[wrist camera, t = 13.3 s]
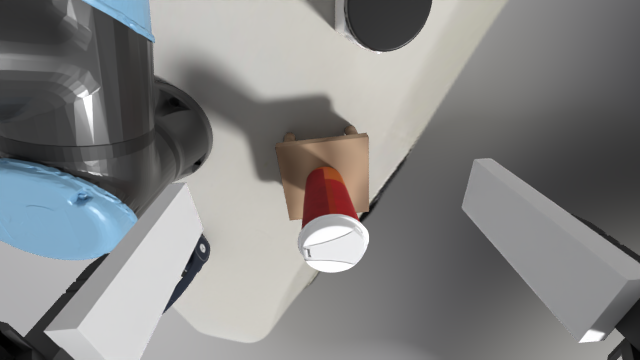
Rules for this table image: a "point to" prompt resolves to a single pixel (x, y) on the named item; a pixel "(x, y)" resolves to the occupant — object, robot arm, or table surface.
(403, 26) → the jar
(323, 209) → the paper cup
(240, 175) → the table surface
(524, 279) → the robot arm
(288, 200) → the stool
